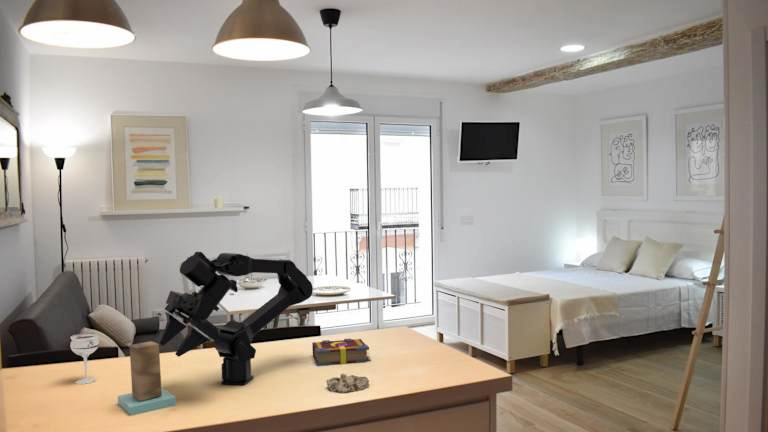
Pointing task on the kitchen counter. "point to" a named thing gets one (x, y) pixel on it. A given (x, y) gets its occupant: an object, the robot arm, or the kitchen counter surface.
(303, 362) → the kitchen counter surface
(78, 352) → the wineglass
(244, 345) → the robot arm
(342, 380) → the mineral rock
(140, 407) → the ceramic plinth
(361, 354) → the decorative book
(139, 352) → the walnut post
